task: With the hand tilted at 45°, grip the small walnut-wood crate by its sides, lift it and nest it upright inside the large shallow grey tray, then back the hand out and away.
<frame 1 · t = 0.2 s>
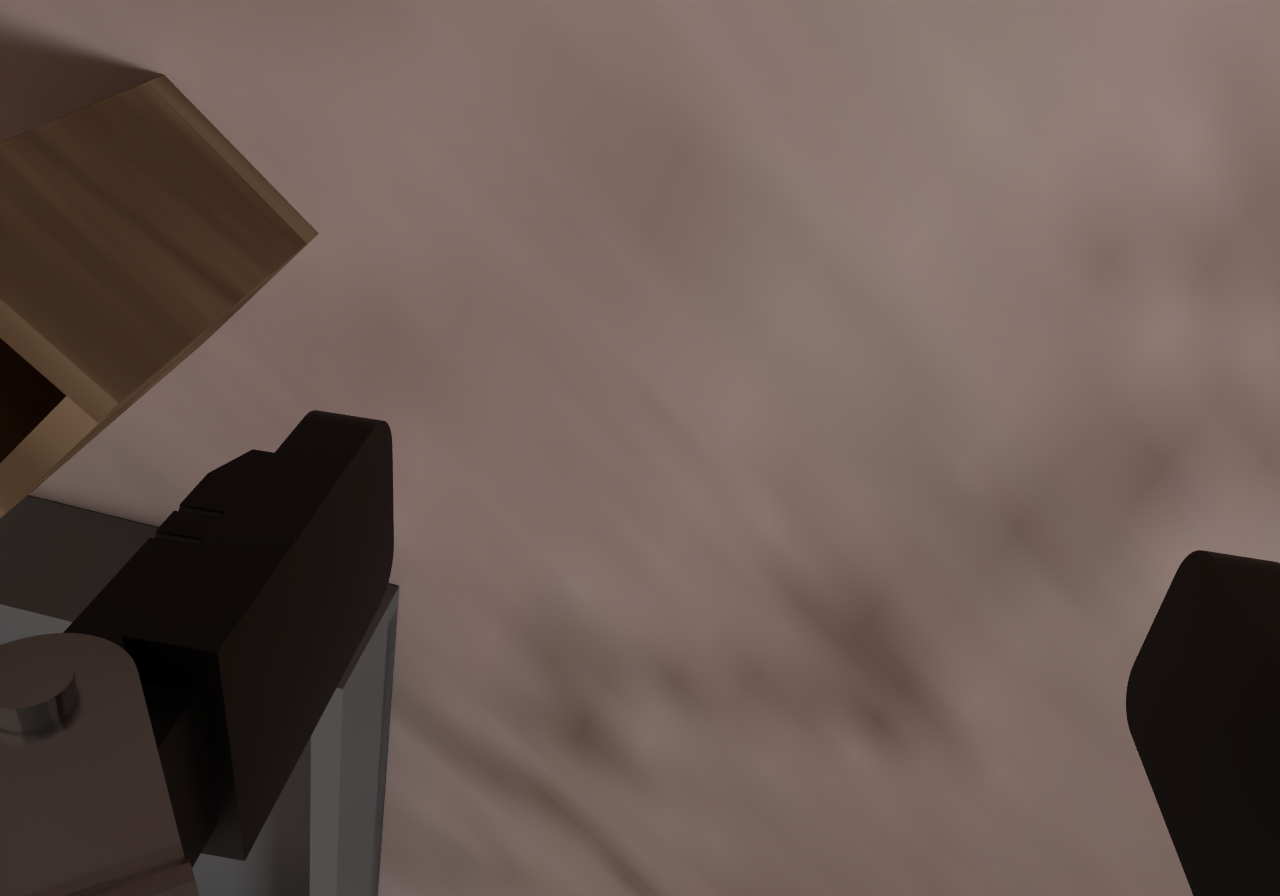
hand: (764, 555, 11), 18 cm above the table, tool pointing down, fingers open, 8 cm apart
grey tray: (148, 731, 43), on the table
walnut crate: (187, 216, 30), on the table
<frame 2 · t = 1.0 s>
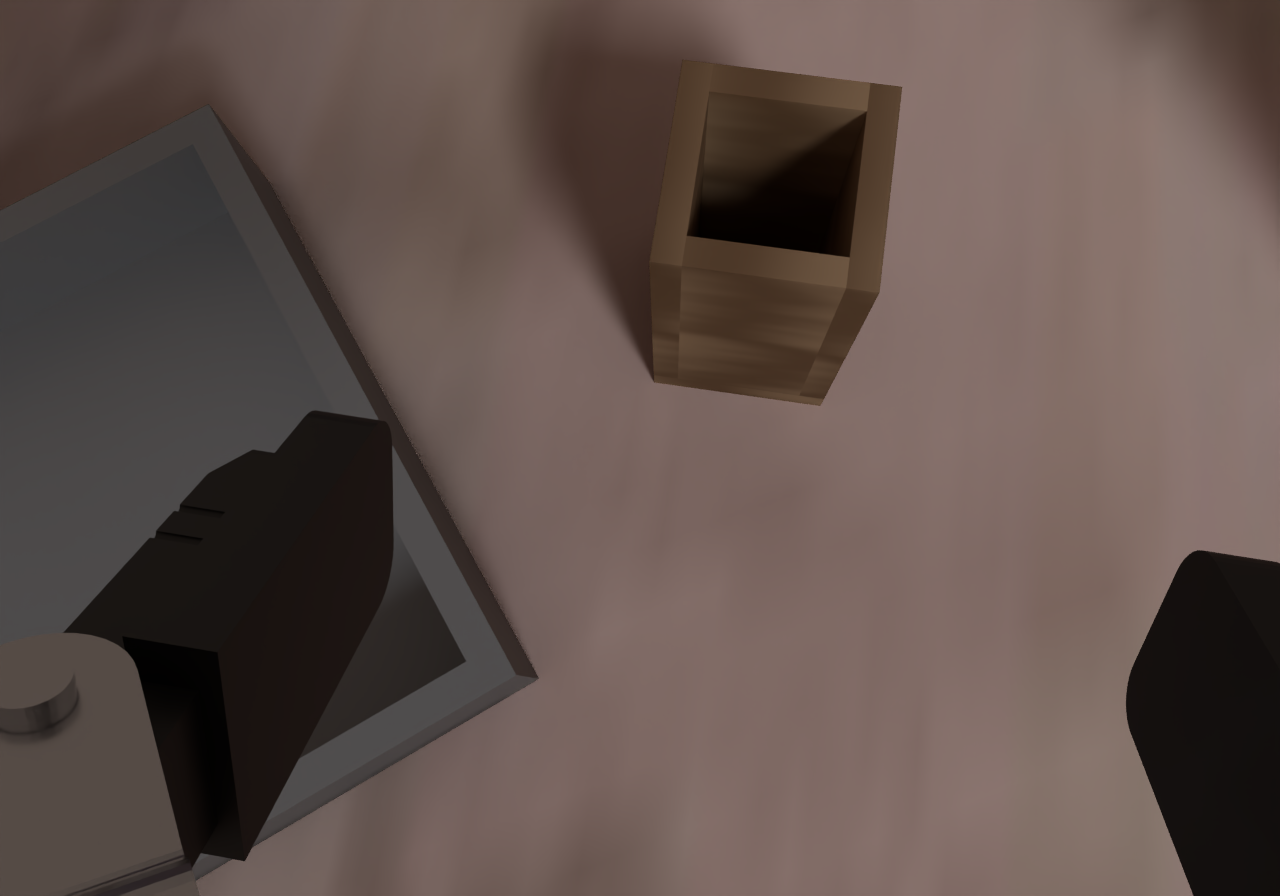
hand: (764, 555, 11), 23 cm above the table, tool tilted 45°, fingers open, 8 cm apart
grey tray: (95, 580, 34), on the table
walnut crate: (747, 316, 36), on the table
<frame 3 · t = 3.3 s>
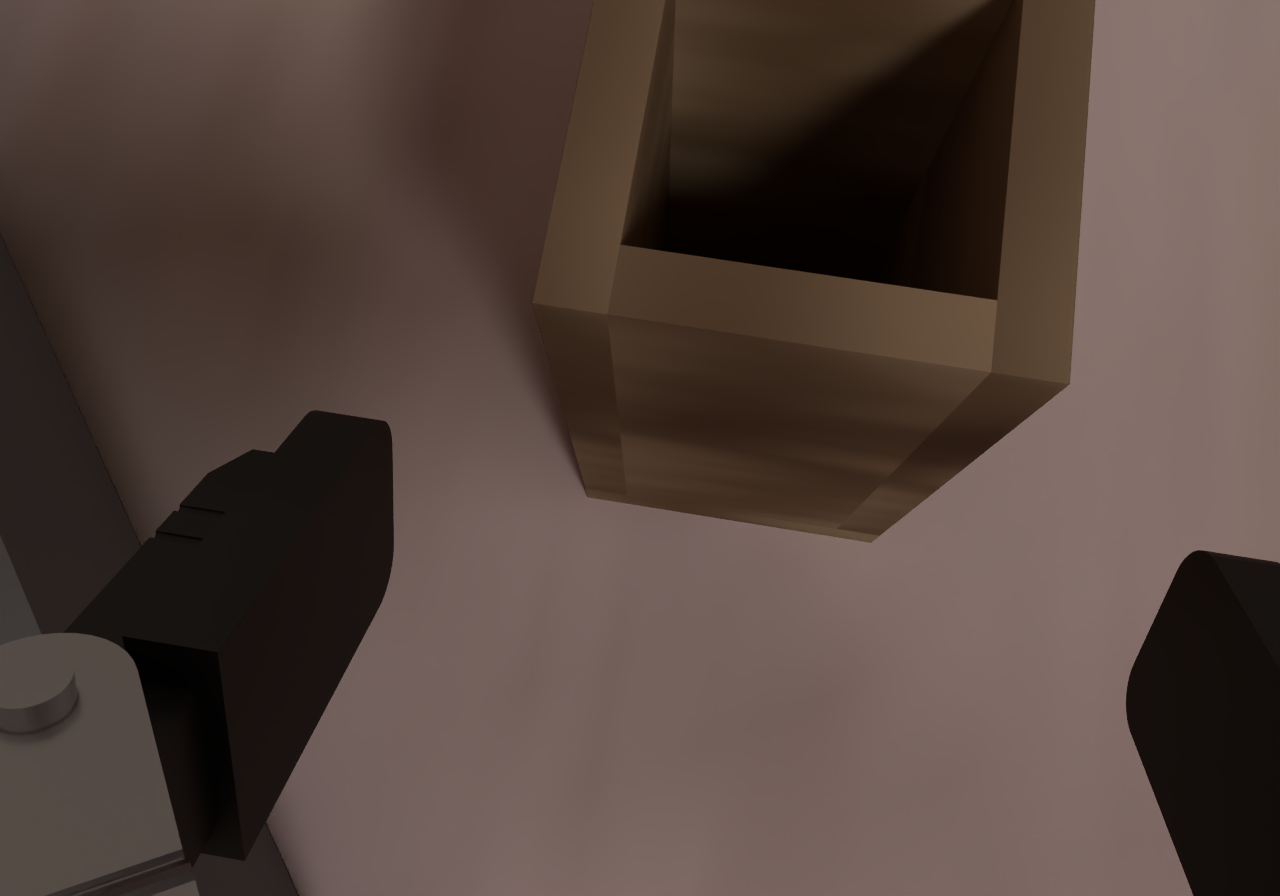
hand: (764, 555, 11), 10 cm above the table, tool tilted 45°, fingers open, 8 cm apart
walnut crate: (748, 385, 21), on the table
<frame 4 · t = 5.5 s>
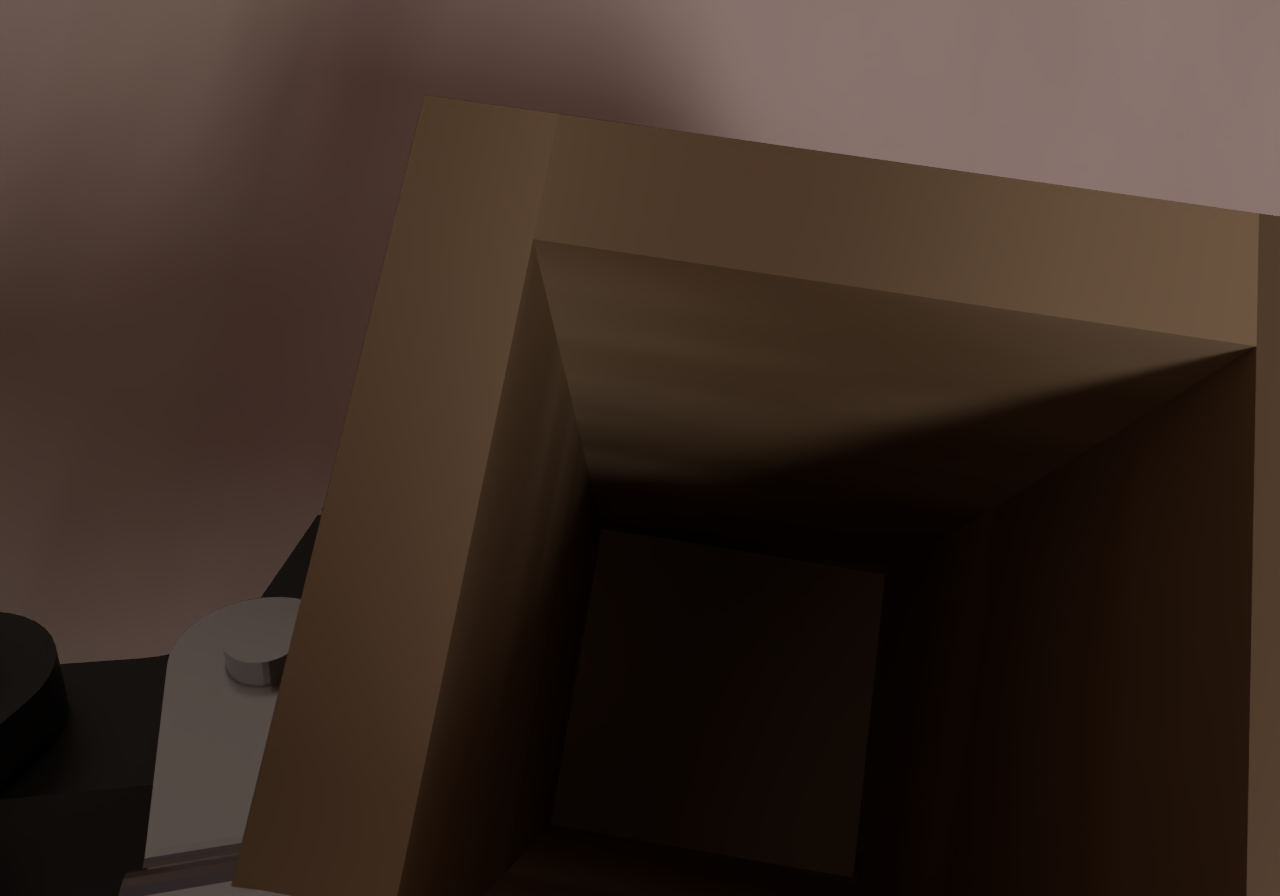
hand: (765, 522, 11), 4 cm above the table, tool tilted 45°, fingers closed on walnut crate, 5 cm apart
walnut crate: (718, 697, 15), on the table, touching gripper
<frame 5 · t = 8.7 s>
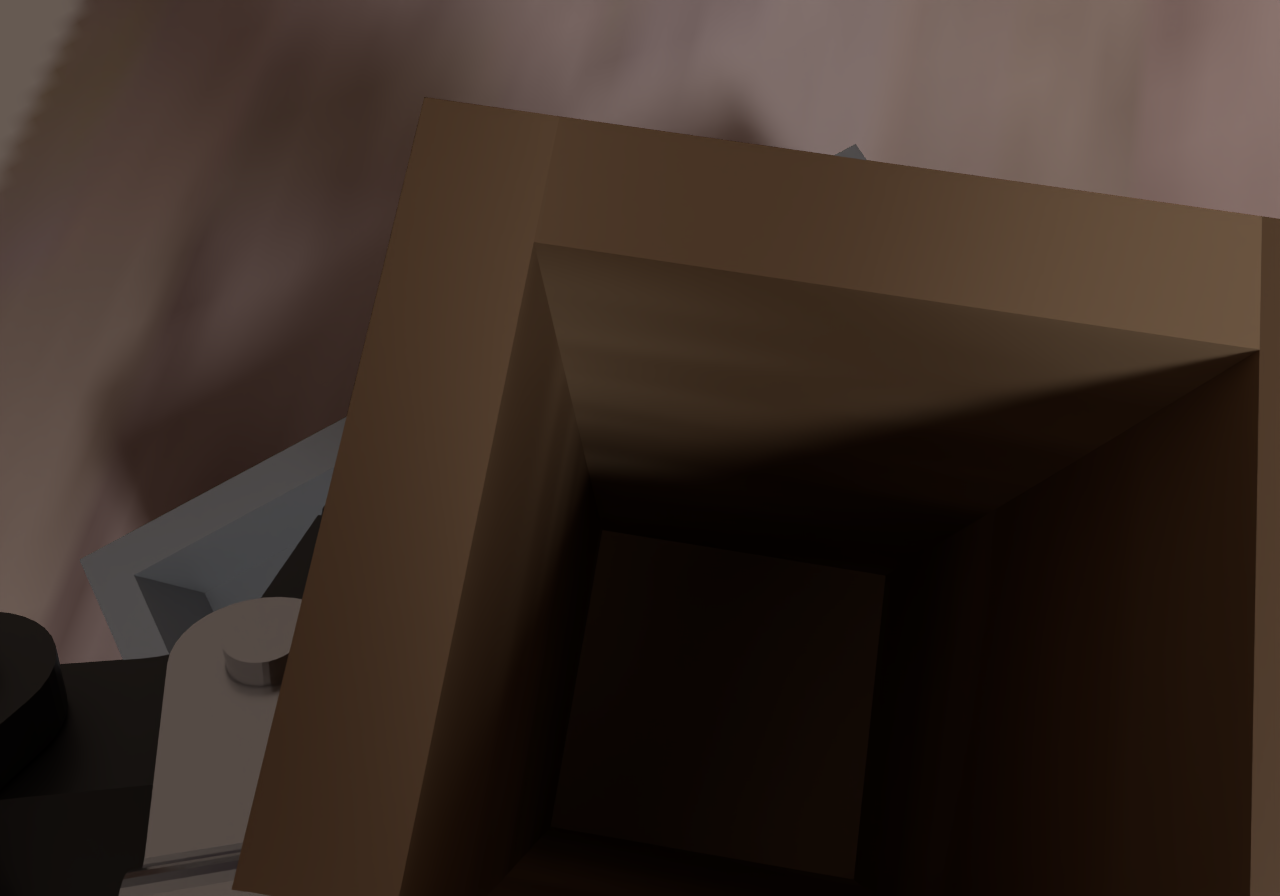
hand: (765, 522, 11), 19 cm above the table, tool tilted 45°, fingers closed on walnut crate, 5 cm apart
grey tray: (680, 700, 29), on the table
walnut crate: (718, 698, 15), point 14 cm above the table, touching gripper
when the fingers open (7 cm above the table, at t = 11.9 s): walnut crate drops 1 cm, resting on grey tray.
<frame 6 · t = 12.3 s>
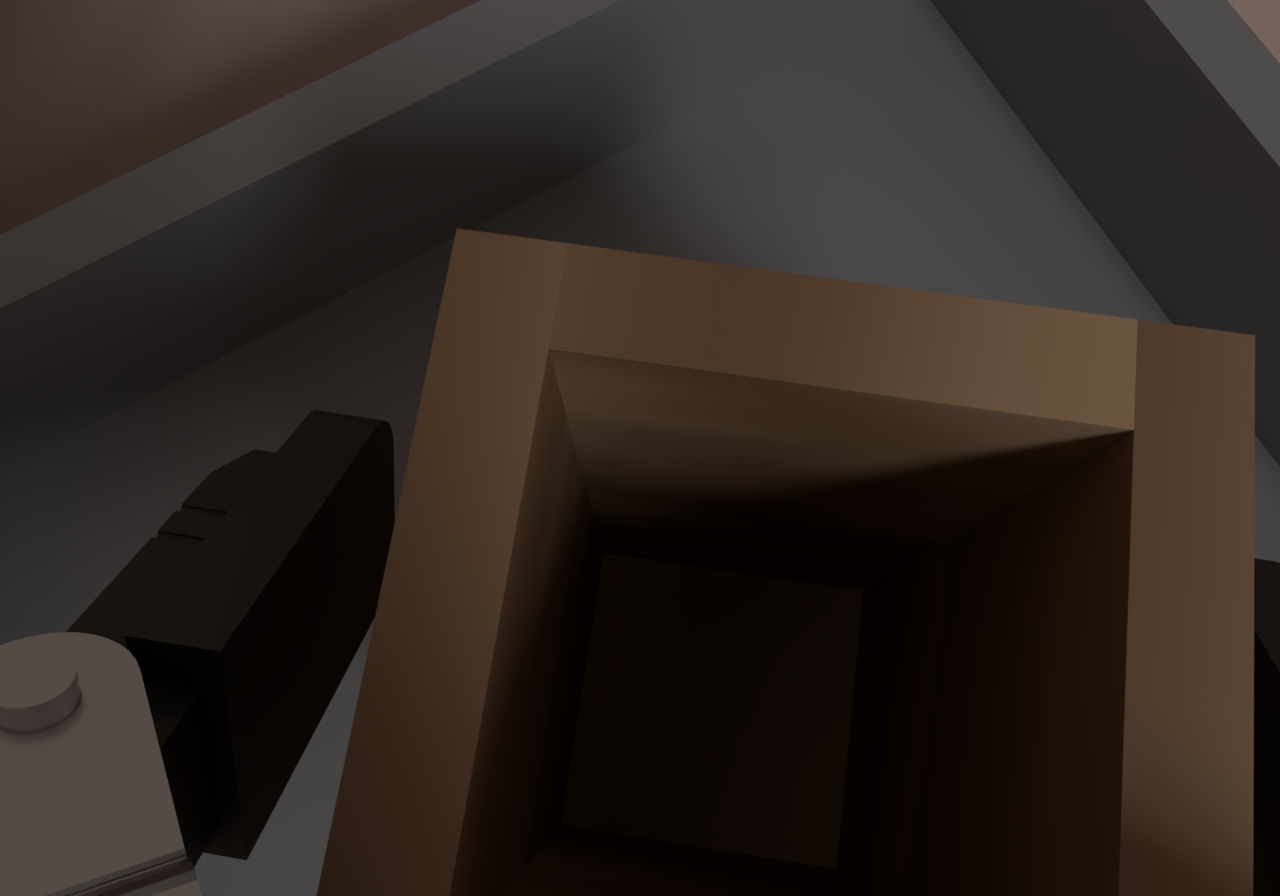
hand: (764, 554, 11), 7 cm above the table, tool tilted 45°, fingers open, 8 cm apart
grey tray: (707, 700, 17), on the table
walnut crate: (712, 705, 16), point 1 cm above the table, touching grey tray
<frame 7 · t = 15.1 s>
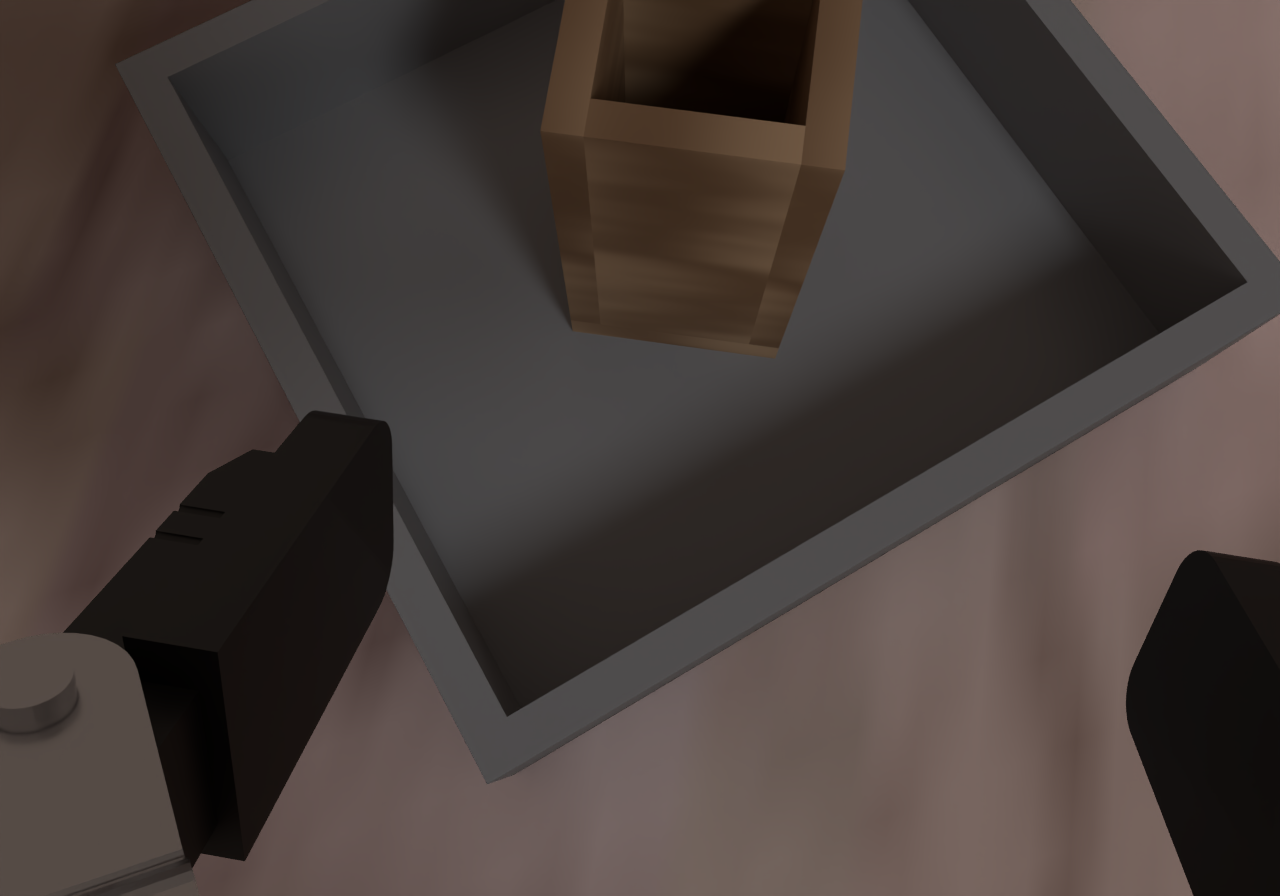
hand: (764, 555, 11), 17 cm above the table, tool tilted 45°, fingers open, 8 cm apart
grey tray: (684, 264, 30), on the table
walnut crate: (686, 252, 29), point 1 cm above the table, touching grey tray
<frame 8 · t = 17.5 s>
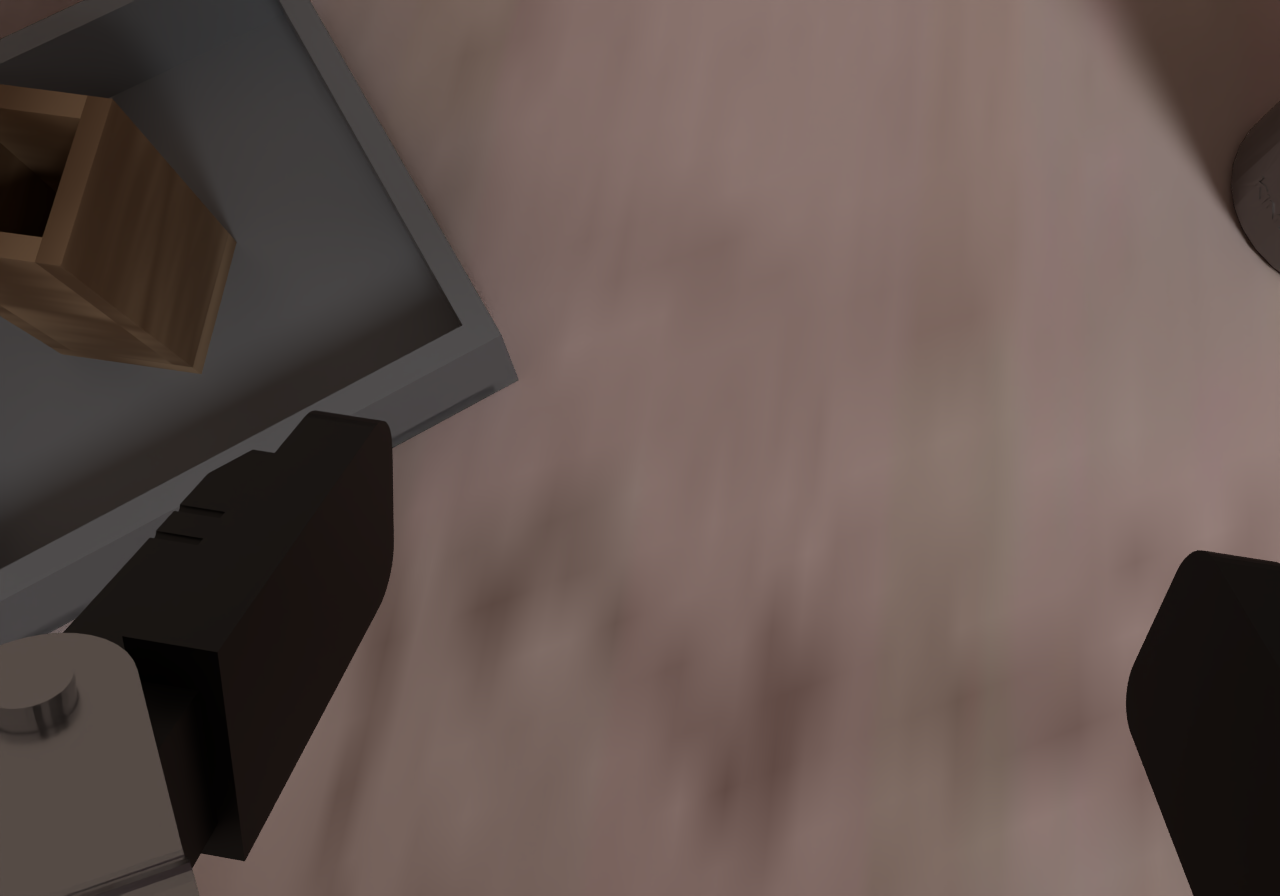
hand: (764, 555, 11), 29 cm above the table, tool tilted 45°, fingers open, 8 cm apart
grey tray: (161, 304, 42), on the table
walnut crate: (150, 297, 41), point 1 cm above the table, touching grey tray
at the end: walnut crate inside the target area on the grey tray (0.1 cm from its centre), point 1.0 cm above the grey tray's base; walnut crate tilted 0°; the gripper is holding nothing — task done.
